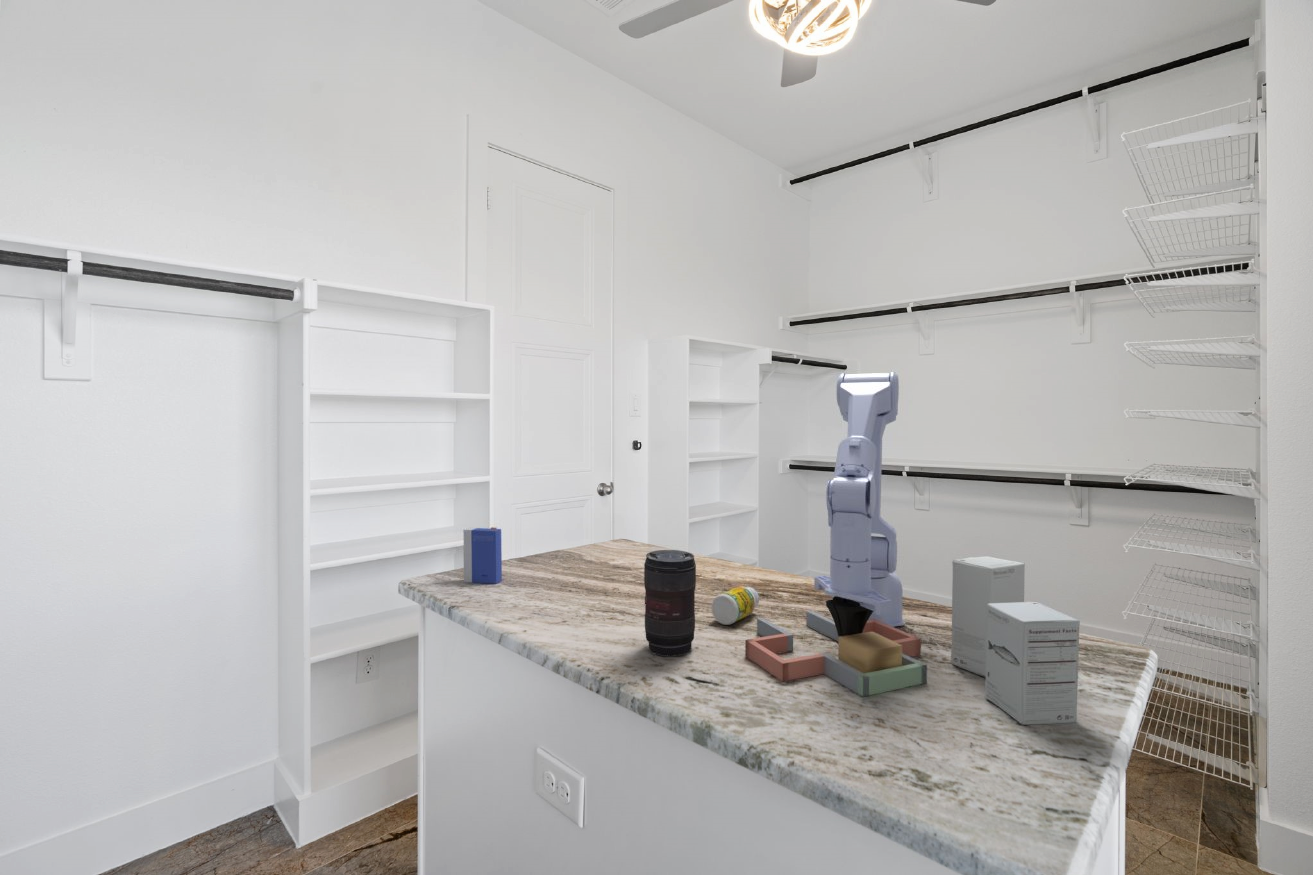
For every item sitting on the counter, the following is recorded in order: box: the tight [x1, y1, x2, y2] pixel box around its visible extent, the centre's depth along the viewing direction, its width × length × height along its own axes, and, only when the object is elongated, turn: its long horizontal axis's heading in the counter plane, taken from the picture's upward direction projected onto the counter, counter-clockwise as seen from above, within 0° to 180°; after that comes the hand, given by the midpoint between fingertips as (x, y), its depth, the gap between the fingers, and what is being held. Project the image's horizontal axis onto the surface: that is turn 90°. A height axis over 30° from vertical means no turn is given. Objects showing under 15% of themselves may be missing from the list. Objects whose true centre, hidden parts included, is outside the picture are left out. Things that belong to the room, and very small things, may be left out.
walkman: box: [462, 526, 503, 585], centre depth 139 cm, size 8×3×12 cm, turn 78°
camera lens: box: [643, 549, 697, 657], centre depth 98 cm, size 8×8×15 cm
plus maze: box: [744, 610, 928, 697], centre depth 96 cm, size 25×26×2 cm
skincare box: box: [950, 555, 1026, 678], centre depth 92 cm, size 8×7×16 cm
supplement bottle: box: [710, 586, 760, 626], centre depth 114 cm, size 5×5×10 cm
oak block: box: [838, 631, 902, 674], centre depth 88 cm, size 6×6×5 cm
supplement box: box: [984, 601, 1081, 726], centre depth 78 cm, size 7×7×13 cm
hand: (849, 649), depth 92 cm, fingers closed
